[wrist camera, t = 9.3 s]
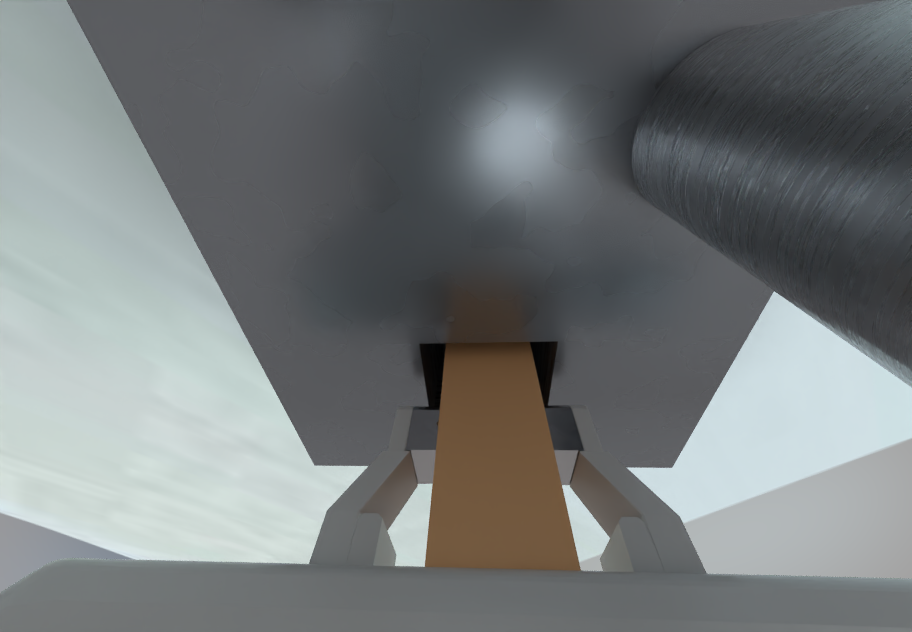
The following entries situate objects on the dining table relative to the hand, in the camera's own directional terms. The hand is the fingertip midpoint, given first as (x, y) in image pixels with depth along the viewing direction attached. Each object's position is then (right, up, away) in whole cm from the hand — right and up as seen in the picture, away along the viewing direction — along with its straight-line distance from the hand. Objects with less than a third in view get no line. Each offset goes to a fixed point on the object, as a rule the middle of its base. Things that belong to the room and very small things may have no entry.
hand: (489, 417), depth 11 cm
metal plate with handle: (0, +7, +4) cm, 8 cm away
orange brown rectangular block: (0, +2, +3) cm, 4 cm away
